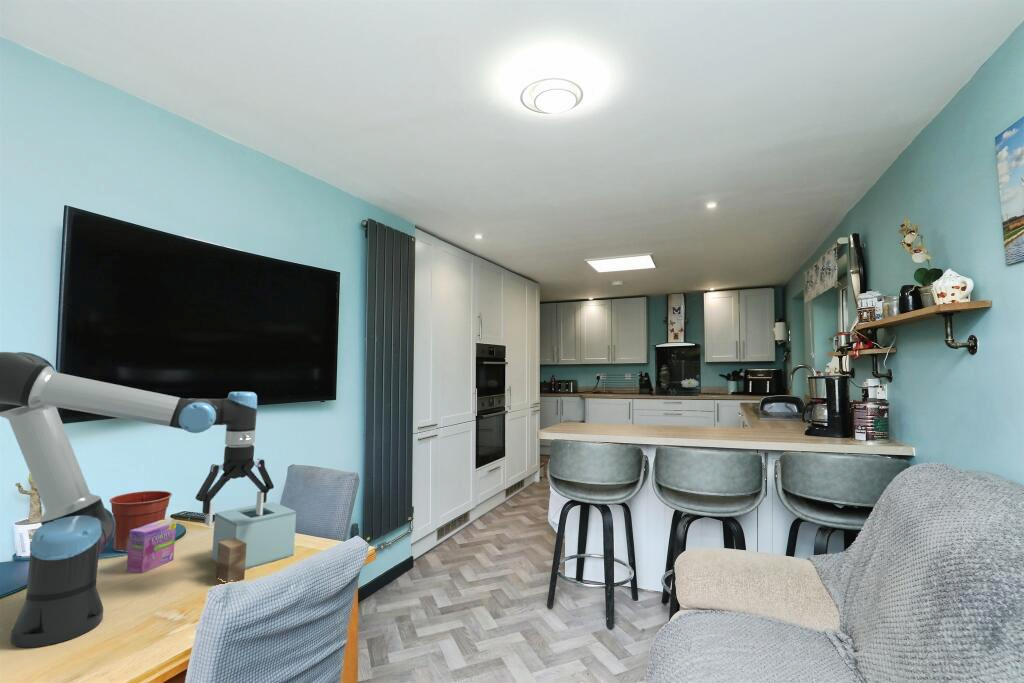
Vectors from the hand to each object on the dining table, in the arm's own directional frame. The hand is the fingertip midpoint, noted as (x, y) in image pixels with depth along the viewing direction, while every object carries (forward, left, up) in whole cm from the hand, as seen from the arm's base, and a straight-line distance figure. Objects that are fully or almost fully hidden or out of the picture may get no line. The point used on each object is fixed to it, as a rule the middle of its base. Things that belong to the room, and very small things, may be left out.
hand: (234, 519), depth 137 cm
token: (0, 0, -16) cm, 16 cm away
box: (-12, +26, -17) cm, 33 cm away
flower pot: (-10, +47, -17) cm, 51 cm away
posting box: (+11, +11, -16) cm, 22 cm away
